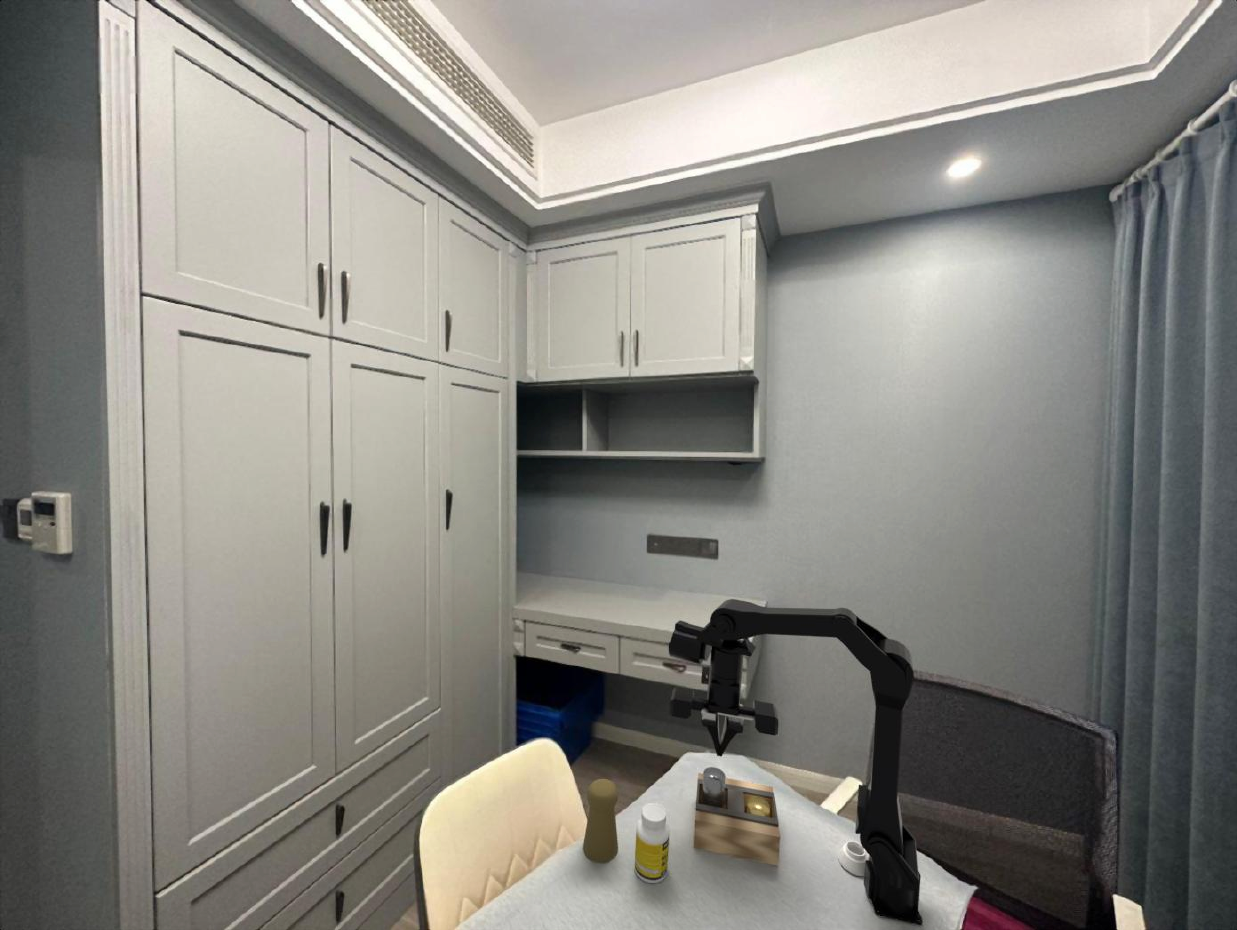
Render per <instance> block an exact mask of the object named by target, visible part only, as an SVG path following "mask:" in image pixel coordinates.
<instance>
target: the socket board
mask: <svg viewBox="0 0 1237 930" xmlns="http://www.w3.org/2000/svg"><path fill="white" fill-rule="evenodd" d="M696 785H697V786H696V796H695V813H694V828H693V829H694V831H693V849H696V850H697V849H698V850H702V851H708V852H710V853H711V852H712V853H716V854H721V855H726V856H730V857H735V858H740V859H742V860H743V859H745V860H748V861H754V862H756V863H757V862H758V863H763V864H768V865H772V866H776V867H779V866H780V864H779V863H780V847H781V833H780V825H779V817H778V811H777V803H776V797H775V792H774V787H773V786H771V785H766V784H761V783H755V782H750V781H744V780H741V779H740V780H738V779H733V778H728V777H726V779H725V798H724V805H723V806H722V807H721V808H719V807H714V806H708V805H705V804H704V803H703V801H702V788H703V773H701V772H698V773H697V784H696ZM751 797H759V798H762V799H764V800H765V801H767V802H768V803H769V805H770V817H765V816H759V815H754V814H749V813H747V801H748V799H749V798H751Z"/></svg>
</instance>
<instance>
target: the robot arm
mask: <svg viewBox="0 0 1237 930" xmlns="http://www.w3.org/2000/svg"><path fill="white" fill-rule="evenodd" d="M764 635H773V636H775V635H776V636H777V635H778V636H794V637H795V636H796V637H797V636H799V637H817V638H818V637H819V638H835V639H838V641H839V642H841V643H842V644H843V645H844V646H845V647H846V649H848V650H849V652H850V653H851V655H853V657H855V659H856V660H857V661H858V662H859V663H860V664H861V665H862V666H863V667H864V668H865V669H867V670H868V671H869V675H870V682H871V687H872V688H871V689H872V690H871V691H872V694H873V698H874V705H875V708H874V709H875V710H874V711H875V712H874V724H873V741H872V742H873V745H872V758H871V759H872V762H871V763H872V765H871V776H870V777H871V779H870V783H869V785H868V787H865V786H863V785H861V784H858V790H857V803H856V804H857V805H856V817H855V818H856V819H855V829H854V833H855V835H859V839H860V840H859V841H860V844H861V845H862V847H863V848H864V849H865V851H866V853H867V855H868V857H869V860H866V861H865V871H864V876H863V886H864V889H865V892H866V894H867V895H866V896H867V898H868V899H869V900H870V903H871V906H872V908H873V912H874V914H875V915H876V916H878V917H883V918H886V919H891V920H895V921H900V922H904V923H909V924H913V925H916V926H917V925H918V926H923V924H924V921H923V918H922V916H921V914H920V913H921V912H920V911H919V905H920V903H919V901H920V891H921V890H920V889H921V877H922V876H921V873H920V871H919V865H918V864H919V863H918V854H917V839H916V838H915V837H914V836H913V834H912V833H911V832H910V830H909V829H908V828H907V827H906V825H905V824H904V823H903V819H902V818H903V817H902V812H901V805H900V800H899V799H900V797H899V794H898V793H899V791H898V790H899V778H900V777H899V776H900V760H901V759H900V758H901V747H902V746H901V745H902V743H901V740H902V730H903V729H902V727H903V725H902V723H903V714H904V710H905V708H906V706H907V703H908V701H909V699H910V695H911V691H912V688H913V685H914V681H915V673H914V666H913V657H912V653H911V651H910V649H908V648H907V646H906V645H905V644H903V643H902V642H900V641H898V640H896V639H893V638H892V639H891V638H889V637H888V636H886V635H885V634H884V633H883V632H881V631H880V630H879V629H877V628H876V627H874V626H873V625H871V624H869V623H868V622H866V621H865V620H863V619H862V618H860V617H859V616H858V615H857V614H855V613H854V612H853V611H852V610H850V609H849V608H845V607H838V608H807V607H806V608H798V607H767V606H762V605H758V604H755V603H753V602H750V601H746V600H740V599H736V598H735V599H734V598H729V599H726V600H724V601H723V602H722V603H721V604H720V605H719V606H718V607H716V609H714V610H713V612H712V613H711V615H710V617H709V622H708V623H707V624H706V625H705V626H704V627H703V626H699V625H695V624H691V623H690V622H688V621H683V620H678V621H677V622H675V623H674V629H673V632H672V634H671V636H670V637H671V638H670V642H668V655H669V657H672V658H675V659H677V660H680V661H684V662H687V663H691V664H693V665H694V664H695V665H697V666H701V665H702V664H703V662H704V661H705V662H708V660H709V659H710V662H709V666H708V665H702V667H701V677H700V679H701V680H700V684H702V685H707V694H706V695H707V699H705V698H704V699H702V698H698V697H697V698H696V697H694V695H695V694H694V693H695V689H691V688H690V689H689V688H685V687H680V686H676V687H675V688H673V689H672V693H671V698H670V703H669V713H668V714H669V715H670V716H671V717H673V718H680V719H684V720H687V719H689V718H690V717H691V716H692V712H693V711H692V710H695V711H698V712H701V713H700V714H701V719H700V720H701V722H700V724H701V726H702V727H705V728H706V729H707V731H708V733H709V735H710V737H711V740H712V743H713V746H714V747H713V748H714V750H715V754H716V756H717V757H723V755H724V753H725V752H726V750H727V748H728V746H729V744H730V743H731V741H732V740H733V739H734V738H735V737H736V735H737V734H743V733H744V722H745V720H747V721H754V728H755V729H756V731H757V732H758V733H760V734H763V735H770V736H776V735H778V734H779V717H778V711H777V707H776V706H775V704H774V703H770V702H766V701H760V700H753V701H752V702H753V703H752V707H748V706H744V705H743V704H742V703H740V702H741V692H742V679H743V669H744V668H743V667H744V656H745V657H749V658H751V657H752V656H753V655H754V653H755V652H756V650H757V647H756V646H755V645H754V643H753V642H751V640H750V639H751V638H753V637H757V636H764ZM719 715H720V716H725V717H724V722H723V723H724V724H723V729H722V731H721V732H722V733H721V738H720V723H719V722H720V721H719V718H720V717H719Z"/></svg>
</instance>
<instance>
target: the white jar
mask: <svg viewBox="0 0 1237 930" xmlns="http://www.w3.org/2000/svg"><path fill="white" fill-rule="evenodd" d="M837 857H838V858H837V859H838V862H839V864H840V865H841V866H842V867H843V868H844V869H845V870H846V871H848V872H849V873H850V874H853V875H854V876H859V877H864V871H865V861H866V860H869V854H868V853H867V852H866V850H865V849H864V848H863V847H862V845H861V843H859V842H857V841H855V840H848V841H847V842H845V844H844V845H843V846H842V847H841V849H840V850H839V851H838V856H837Z"/></svg>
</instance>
